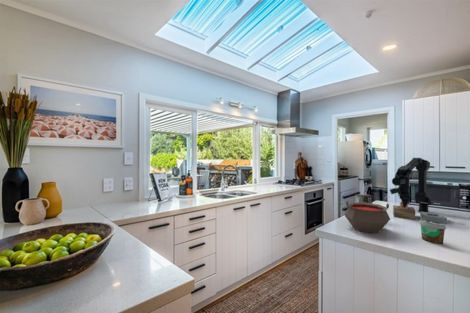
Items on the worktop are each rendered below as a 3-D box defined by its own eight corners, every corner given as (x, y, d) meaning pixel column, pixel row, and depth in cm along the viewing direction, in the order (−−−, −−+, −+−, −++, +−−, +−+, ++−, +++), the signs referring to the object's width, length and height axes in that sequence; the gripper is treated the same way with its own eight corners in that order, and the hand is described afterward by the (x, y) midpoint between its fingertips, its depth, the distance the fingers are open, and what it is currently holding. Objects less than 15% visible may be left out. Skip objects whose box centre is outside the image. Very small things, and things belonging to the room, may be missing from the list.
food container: (412, 236, 123) (412, 218, 123) (423, 236, 123) (423, 217, 123) (434, 245, 111) (434, 225, 110) (445, 245, 111) (446, 225, 111)
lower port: (420, 216, 162) (420, 211, 162) (442, 219, 155) (442, 214, 155) (422, 220, 152) (423, 215, 151) (447, 223, 145) (447, 218, 145)
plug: (399, 210, 165) (399, 201, 165) (407, 211, 163) (407, 202, 162) (400, 212, 161) (400, 202, 161) (407, 213, 159) (408, 203, 159)
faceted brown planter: (345, 232, 128) (346, 204, 128) (342, 220, 150) (343, 196, 150) (396, 239, 119) (396, 208, 119) (385, 225, 141) (385, 199, 141)
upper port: (393, 213, 170) (393, 205, 170) (413, 215, 164) (413, 207, 164) (393, 216, 160) (393, 208, 160) (415, 219, 154) (415, 210, 154)
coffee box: (367, 216, 160) (368, 194, 160) (372, 219, 154) (372, 195, 153) (354, 216, 161) (354, 193, 161) (358, 219, 155) (358, 195, 154)
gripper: (390, 182, 174) (389, 202, 174) (391, 185, 158) (390, 207, 158) (408, 183, 168) (407, 204, 168) (411, 186, 152) (410, 209, 152)
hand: (403, 206), depth 162 cm, fingers open, 7 cm apart
